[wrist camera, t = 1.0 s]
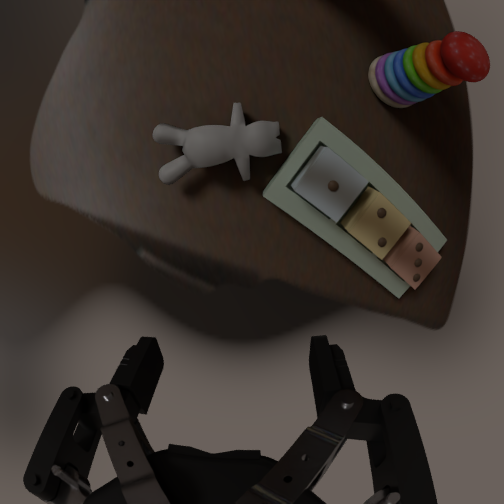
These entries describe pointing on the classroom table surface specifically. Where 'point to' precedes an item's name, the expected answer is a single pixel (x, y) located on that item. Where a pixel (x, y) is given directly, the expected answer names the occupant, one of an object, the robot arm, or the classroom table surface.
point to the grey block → (329, 183)
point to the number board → (336, 233)
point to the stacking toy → (428, 69)
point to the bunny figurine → (218, 145)
